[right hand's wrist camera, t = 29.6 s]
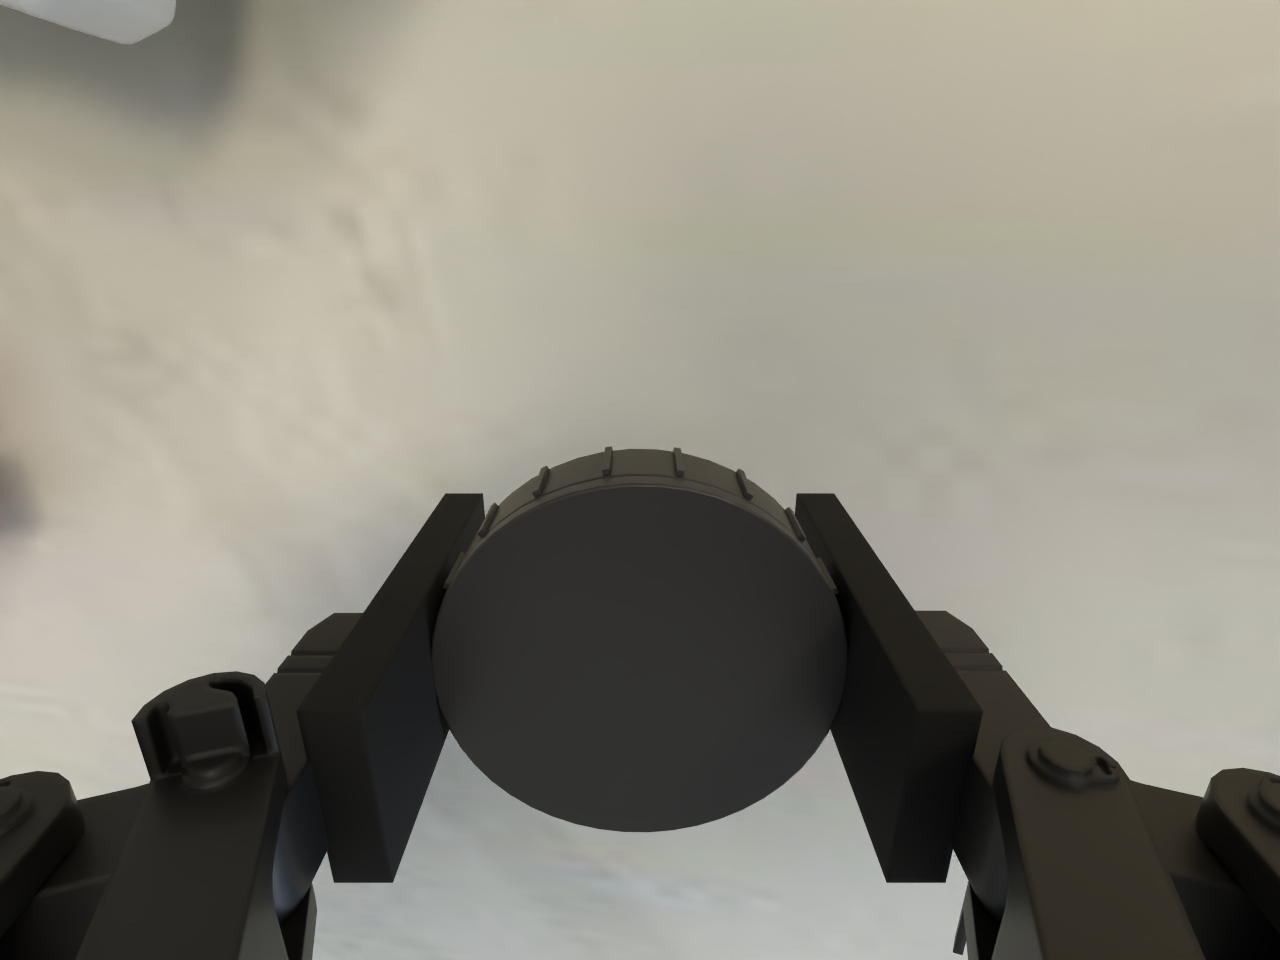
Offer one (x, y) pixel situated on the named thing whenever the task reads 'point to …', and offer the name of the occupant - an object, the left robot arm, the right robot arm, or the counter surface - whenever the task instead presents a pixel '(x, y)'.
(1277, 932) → the right robot arm
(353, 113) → the counter surface
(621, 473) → the lid
